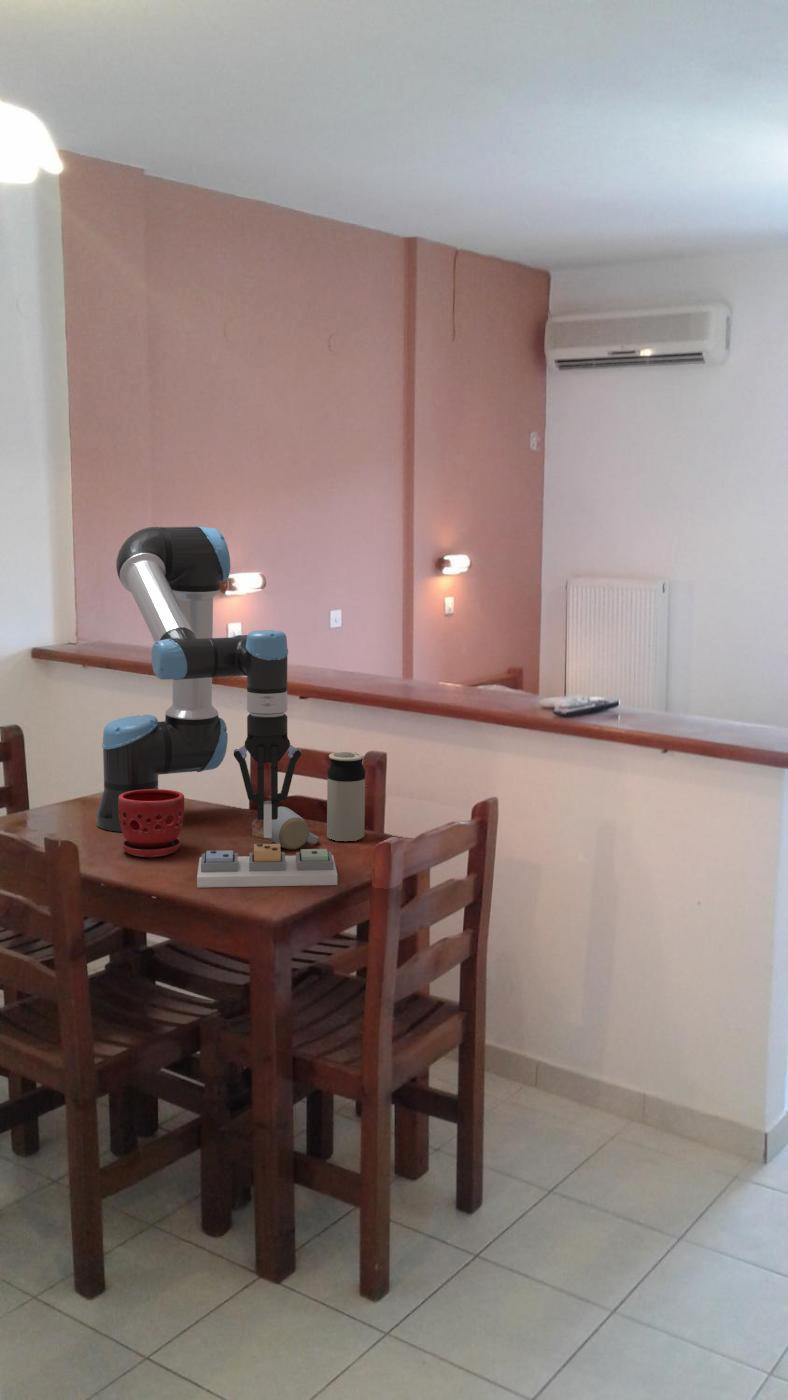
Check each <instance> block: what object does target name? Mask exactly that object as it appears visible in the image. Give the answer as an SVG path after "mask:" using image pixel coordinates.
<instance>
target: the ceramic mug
mask: <svg viewBox="0 0 788 1400" xmlns="http://www.w3.org/2000/svg"><path fill="white" fill-rule="evenodd" d="M262 824H263V826H262V828H263V831H264V822H263V823H262ZM267 839H268V840H269V841H271V842H273V844H280V848H283V849H285V850H290V851H293V850H294V851H295V850H298V849H300V848H302V847H303V846H304V845H305V844H306V843H307V844H308V843H309V844H312V845H316V844H317V843H318V840H319V836H317V835H316V834H315V833H312V832H310V828H309V825H308V823H307V822H306V820H305V819H304V818H303V817H301V816H300V815H299V814H297V813H296V811H293V810H292V809H290V808H289V807H287V806H278V818H277V819H275V820H272V838H267Z"/></svg>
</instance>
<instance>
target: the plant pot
mask: <svg viewBox="0 0 788 1400" xmlns="http://www.w3.org/2000/svg"><path fill="white" fill-rule="evenodd" d="M118 812H119V822H120V827H121V830H122V832H121V833H122V834H123V837H124V839H125V840H124V841H123V842H122V849H123V850H124V851H125V852H126V853H127V854H130V855H132V856H136V857H140V858H141V857H142V858H150V859H153V858H158V857H165V856H168V855H170V854H173V853H175V852H177V851H178V850H179V848H180V846H181V845H182V844H181V840H179V839H178V837H179V835H180V833H181V830H182V828H183V827H182V826H183V823H184V814H185V795H184V793H182V792H179V791H176V790H171V789H159V788H158V789H145V790H135V791H129V792H125V793H122V794H120V795H119V798H118ZM140 814H141V815H142V818H141V817H140ZM157 814H159V815H157ZM166 817H167V819H166Z"/></svg>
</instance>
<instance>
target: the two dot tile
mask: <svg viewBox="0 0 788 1400" xmlns="http://www.w3.org/2000/svg"><path fill="white" fill-rule="evenodd" d="M233 853H234V850H231V849H230V850H227V849H226V850H206V853H205V854H206V863H229V862H233Z"/></svg>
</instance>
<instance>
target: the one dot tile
mask: <svg viewBox="0 0 788 1400" xmlns="http://www.w3.org/2000/svg"><path fill="white" fill-rule="evenodd" d="M300 852H301V861H328V853H327V852H328V849H327V848H307V849H306V848H305V849H303V848H302V849H300Z"/></svg>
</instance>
